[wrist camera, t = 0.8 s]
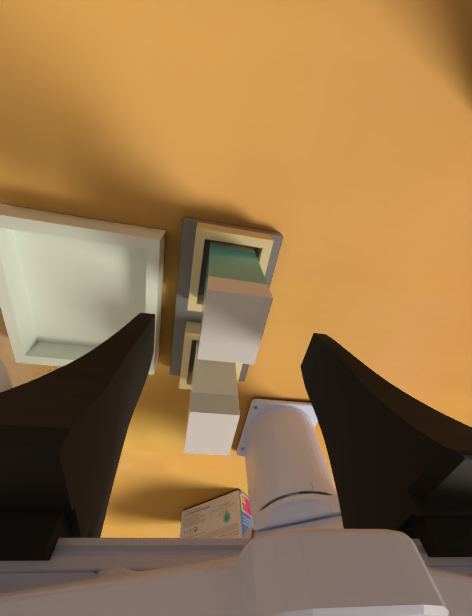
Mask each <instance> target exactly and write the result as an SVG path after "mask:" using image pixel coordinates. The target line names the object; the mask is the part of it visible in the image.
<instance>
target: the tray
mask: <svg viewBox="0 0 472 616" xmlns="http://www.w3.org/2000/svg"><path fill="white" fill-rule="evenodd" d="M165 239H166V231H165V230H159V229H153V228H147V227H141V226H135V225H128V224H122V223H116V222H110V221H104V220H98V219H92V218H86V217H79V216H73V215H67V214H61V213H55V212H49V211H43V210H37V209H30V208H24V207H18V206H12V205H6V204H0V307H1V311H2V315H3V318H4V322H5V325H6V329H7V333H8V336H9V340H10V344H11V347H12V351H13V354H14V358H15V362H16V363H27V364H38V365H50V366H61V367H63V366H65V365H67V364H69V363H71V362H73V361H74V360H76V359H78V358H80V357H81V356H83V355H85V354H87V353H88V352H90V351H91V350H93V349H94V348H96V347H97V346H99V345H100V344H101V343H103V342H104V341H106V340H107V339H109V338H110V337H111V336H112V335H114V334H115V333H116V332H118V331H119V330H120V329H121V328H123V327H124V326H125V325H126V324H127V323H129V322H130V321H131V320H132V319H133V318H134V317H136V316H137V315H138V314H139V313H149V314H155V336H154V353H153V357H152V361H151V366H150V369H149V373H148V374H152V375H154V372H155V368H156V365H157V361H158V358H159V346H160V328H161V311H162V293H163V275H164V257H165Z"/></svg>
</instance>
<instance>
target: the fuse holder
mask: <svg viewBox="0 0 472 616" xmlns="http://www.w3.org/2000/svg"><path fill="white" fill-rule="evenodd" d="M282 239H283V236H282V234H281V233H278V232H272V231H266V230H260V229H255V228H249V227H243V226H237V225H231V224H226V223H220V222H214V221H208V220H202V219H197V218H191V217H185V216H184V218H183V224H182V236H181V248H180V259H179V271H178V283H177V295H176V307H175V319H174V331H173V342H172V354H171V366H170V375H179V376H180V382H179V389H188V390H191V381H192V372H193V364H194V356H195V349H196V342H197V340H199V335H200V324H201V313H202V302H203V292H204V284H205V277H206V269H207V262H208V255H209V247H210V240H215V241H221V242H227V243H234V244H240V245H246V246H252V247H253V248H254V251H255V253H256V256H257V259H258V261H259V264H260V266H261V269H262V271H263V274H264V277H265V279H266V282H267V284H268V287H269V288H270V284H271V280H272V277H273V273H274V269H275V265H276V262H277V258H278V254H279V250H280V247H281V243H282ZM235 364H236V376H237V384H238V381H245V377H246V374H247V370H248V366H249V364H242V363H235Z"/></svg>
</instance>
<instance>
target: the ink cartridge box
mask: <svg viewBox="0 0 472 616" xmlns="http://www.w3.org/2000/svg"><path fill="white" fill-rule="evenodd" d="M252 527H254V525H253V517H252V514H251V510H250V505H249V498H248V497H247V496H246V495H245V494H244V493H243V492H242V491H240V490H236V491H234V492H231V493H229V494H226V495H224V496H221V497H219V498H216V499H213V500H211V501H208V502H206V503H203V504H200V505H198V506H195V507H192V508H190V509H187V510H184V511H183V512H182V519H181V531H180V538H244V536H245V532H246V530H247V529H248V528H252Z"/></svg>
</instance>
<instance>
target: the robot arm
mask: <svg viewBox="0 0 472 616" xmlns="http://www.w3.org/2000/svg"><path fill="white" fill-rule="evenodd" d="M154 336H155V314H149V313H139V314H138V315H137V316H136V317H134V318H133V319H132V320H131V321H130V322H129V323H127V324H126V325H125V326H124V327H123V328H121V329H120V330H119V331H118V332H116V333H115V334H114V335H112V336H111V337H110V338H109V339H107V340H106V341H104V342H103V343H101V344H100V345H99V346H97V347H96V348H94V349H93V350H91V351H90V352H88V353H87V354H85V355H83V356H81V357H80V358H78V359H76V360H74V361H73V362H71V363H69V364H67V365H65V366H63V367H61V368H59V369H57V370H54V371H52V372H50V373H48V374H46V375H44V376H42V377H40V378H37V379H35V380H32V381H30V382H28V383H25V384H22V385H20V386H17V387H15V388H12V389H10V390H7V391H4V392H1V393H0V616H472V427H470V426H467V425H465V424H463V423H461V422H459V421H457V420H455V419H453V418H450V417H448V416H446V415H444V414H442V413H440V412H438V411H436V410H434V409H433V408H431V407H429V406H427V405H425V404H424V403H422V402H420V401H418V400H416V399H415V398H413V397H411V396H410V395H408V394H406V393H405V392H403V391H402V390H400V389H398V388H397V387H395V386H394V385H392V384H391V383H389V382H388V381H386V380H385V379H383V378H382V377H381V376H379V375H378V374H376V373H375V372H374V371H372V370H371V369H370V368H368V367H367V366H366V365H364V364H363V363H362V362H361V361H359V360H358V359H357V358H356V357H354V356H353V355H352V354H351V353H349V352H348V351H347V350H346V349H345V348H343V347H342V346H341V345H340V344H338V343H337V342H336V341H335V340H333V339H332V338H330V337H329V336H328V335H326V334H317V333H314V334H313V336H312V339H311V341H310V344H309V347H308V349H307V352H306V354H305V357H304V359H303V362H302V364H301V370H302V375H303V380H304V384H305V387H306V390H307V393H308V396H309V399H310V401H311V403H305V402H293V401H280V400H268V399H253V400H252V401H251V404H250V408H249V411H248V414H247V418H246V421H245V424H244V428H243V431H242V434H241V438H240V441H239V444H238V448H237V455H238V456H245V462H246V473H247V484H248V494H249V505H250V510H251V514H252V517H253V525H254V527H252V528H248V529H247V530H246V532H245V536H244V538H100V536H101V532H102V527H103V523H104V519H105V515H106V511H107V506H108V502H109V498H110V494H111V490H112V486H113V482H114V478H115V475H116V471H117V467H118V463H119V459H120V455H121V452H122V448H123V444H124V441H125V437H126V433H127V430H128V426H129V423H130V420H131V417H132V415H133V412H134V410H135V407H136V404H137V402H138V399H139V397H140V394H141V391H142V389H143V386H144V384H145V381H146V378H147V376H148V373H149V369H150V366H151V361H152V357H153V353H154ZM254 406H255V407H254ZM317 422H318V423H319V425H320V428H321V431H322V434H323V437H324V440H325V444H326V448H327V451H328V455H329V459H330V463H331V468H332V472H333V476H334V481H335V485H336V488H335V485H334V483H333V480H332V477H331V474H330V471H329V469H328V466H327V463H326V460H325V457H324V454H323V452H322V449H321V446H320V443H319V440H318V438H317V435H316V432H315V429H314V428H315V426H316V424H317ZM336 490H337V491H336Z"/></svg>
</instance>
